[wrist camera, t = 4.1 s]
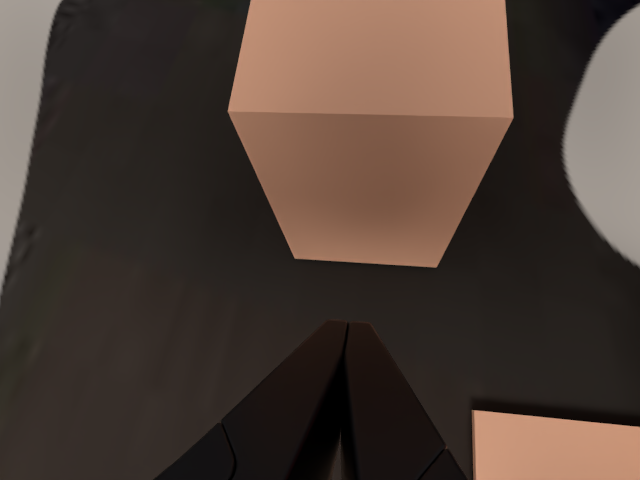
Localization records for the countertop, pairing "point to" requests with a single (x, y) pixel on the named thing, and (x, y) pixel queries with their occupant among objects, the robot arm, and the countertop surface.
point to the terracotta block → (372, 120)
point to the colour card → (552, 449)
